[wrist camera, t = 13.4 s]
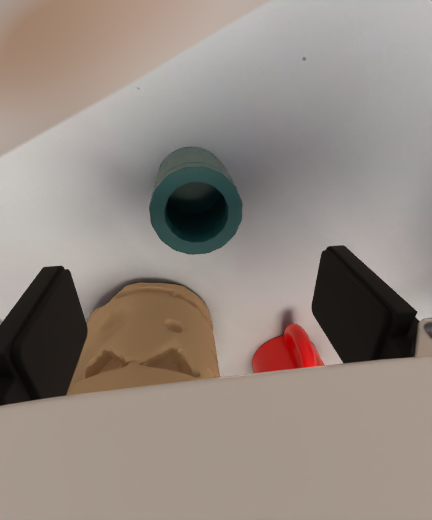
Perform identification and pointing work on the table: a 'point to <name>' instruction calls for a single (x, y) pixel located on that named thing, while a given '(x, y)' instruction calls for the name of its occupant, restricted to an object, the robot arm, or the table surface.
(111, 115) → the table surface
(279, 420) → the robot arm
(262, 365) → the mug
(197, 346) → the container
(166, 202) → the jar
